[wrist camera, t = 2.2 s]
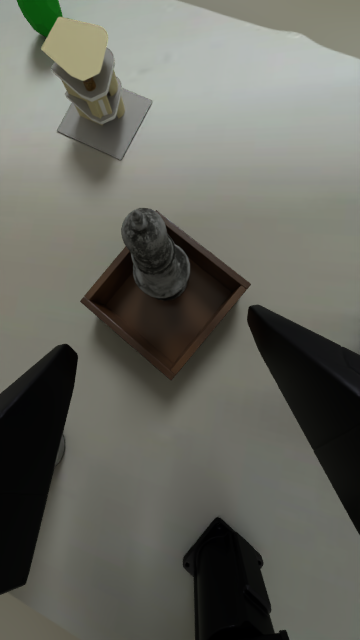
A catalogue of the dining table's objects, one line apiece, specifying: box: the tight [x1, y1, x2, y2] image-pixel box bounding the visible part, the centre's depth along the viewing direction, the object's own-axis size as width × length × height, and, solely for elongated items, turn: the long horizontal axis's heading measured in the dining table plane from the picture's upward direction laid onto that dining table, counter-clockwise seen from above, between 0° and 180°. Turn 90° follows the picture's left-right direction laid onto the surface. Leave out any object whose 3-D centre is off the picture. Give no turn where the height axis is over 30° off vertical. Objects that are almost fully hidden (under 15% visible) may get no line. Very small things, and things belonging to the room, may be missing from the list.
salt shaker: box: [121, 208, 190, 301], centre depth 15 cm, size 6×6×12 cm
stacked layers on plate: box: [41, 17, 152, 160], centre depth 20 cm, size 10×9×6 cm
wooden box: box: [80, 210, 251, 380], centre depth 19 cm, size 12×12×4 cm
